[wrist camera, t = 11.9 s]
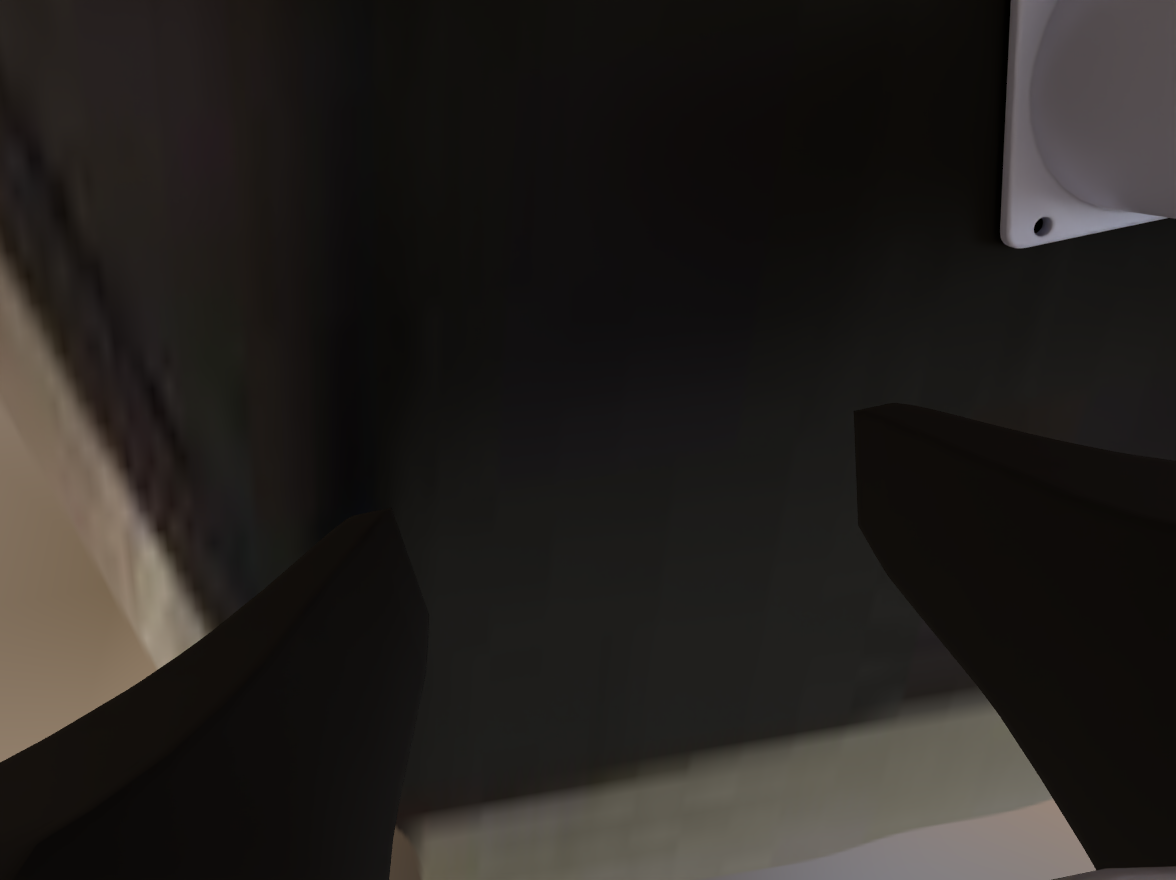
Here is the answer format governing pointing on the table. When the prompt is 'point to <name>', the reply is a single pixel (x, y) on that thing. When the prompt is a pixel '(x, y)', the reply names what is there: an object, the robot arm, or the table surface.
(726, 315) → the table surface
